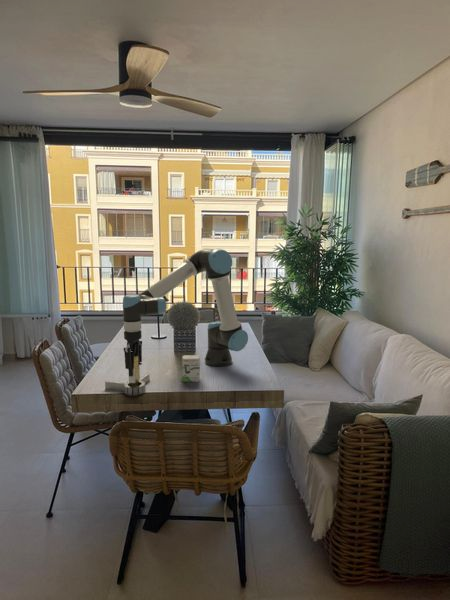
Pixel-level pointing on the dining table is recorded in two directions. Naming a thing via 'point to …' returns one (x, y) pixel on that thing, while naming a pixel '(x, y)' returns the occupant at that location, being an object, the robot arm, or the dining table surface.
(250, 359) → the dining table surface
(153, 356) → the dining table surface
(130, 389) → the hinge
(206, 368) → the dining table surface
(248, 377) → the dining table surface
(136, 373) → the pin
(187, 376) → the ink box
